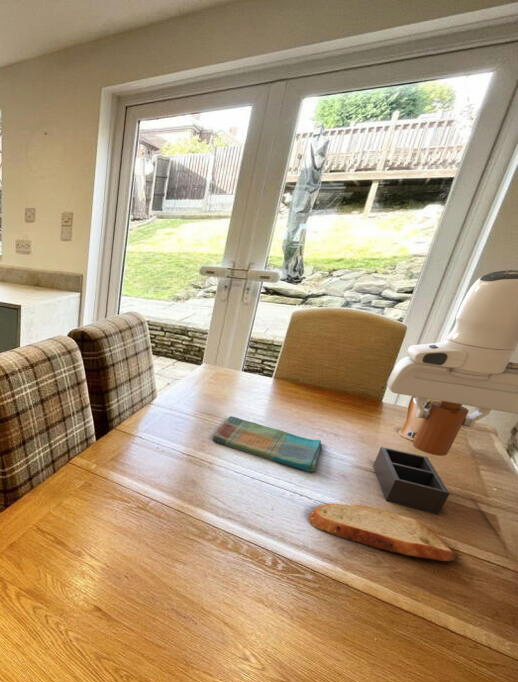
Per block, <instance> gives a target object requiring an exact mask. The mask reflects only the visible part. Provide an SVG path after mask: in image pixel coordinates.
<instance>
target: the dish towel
mask: <svg viewBox="0 0 518 682" xmlns="http://www.w3.org/2000/svg"><path fill="white" fill-rule="evenodd" d="M212 441H213V442H215V443H218V444H221V445H224V446H227V447H229V448H232V449H237V450H239V451H243V452H246V453H250V454H253V455H256V456H258V457H262V458H264V459H267V460H270V461H273V462H276V463H280V464H283V465H287V466H289V467H292V468H296V469H300V470H302V471H305V472H308V473H310V472H313V473H314V472H315V470H316V466H317V462H318V460H319V456H320V453H321V452H322V450H323V444H322V440H321V439H312V438H306V437H303V436H299V435H296V434H293V433H289V432H286V431H283V430H281V429H277V428H274V427H271V426H267V425H262V424H260V423H256V422H254V421H249V420H246V419H241V418H239V417H237V416H233V415H231V416H228V418H227V419H226V421H225V422H224V423H223V424H222V425H221V427H220V428H219V430H217V432H216V433H215V434H213V438H212Z"/></svg>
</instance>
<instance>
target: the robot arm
mask: <svg viewBox="0 0 518 682" xmlns="http://www.w3.org/2000/svg"><path fill="white" fill-rule="evenodd" d="M517 347H518V269H517V270H516V269H515V270H513V269H510V270H507V269H506V270H498V271H497V270H496V271H493V272H489V273H485V274H483V275H481V276H480V277H479V278H478V279H476V281H474V283H473V284H472V285H471V286H470V288H469V290H468V291H467V292H466V295H465V296H464V298H463V300H462V302H461V305H460V307H459V309H458V311H457V313H456V316H455V324H454V327H453V328H452V330H451V331H450V332H449V333H448V334H447V336H446V339H445V341H441V342H433V343H431V342H430V343H423V344H421V343H420V344H413V345H410V346H409V347H408V349H407V351H406V353H407V356H405V357H403V358H401V359H399V361H398V362H397V363H396V365H395V366H394V368H393V370H392V371H391V373H390V375H389V376H388V379H387V381H386V386H387V388H388V390H389V391H390V392H391V393H393V394H398V395H403V396H409V397H412V396H415V401H416V403H417V406H418V410H417V412H416V416H417V417H418V418H424V419H427V418H428V415H429V414H430V411H429V410H428V409H426V408H424V406H423V403H427V401H428V399H432V400H438V401H444V402H450V403H456V404H462V406H468V407H474V409H475V410H476V411H474V412H472V413H471V414H469V415H467V416H466V418H465V420H464V422H463V424H462V426H461V427H467V428H471V429H472V428H473V427H474V426H475V424H476V422H477V421H480V420H481V419H483V418H485V417H487V416H488V415H489V414H490V412H491V411H498V412H505V413H510V414H515V415H518V362H512V361H511V358H512V357H513V355H514V354H515V351H516V349H517Z"/></svg>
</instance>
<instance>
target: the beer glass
mask: <svg viewBox="0 0 518 682" xmlns="http://www.w3.org/2000/svg"><path fill="white" fill-rule="evenodd" d="M410 397H411V398H410V400H409V403H408V406H407V413H406V419H405V422H404V424H403V426H402V427H401V428H400V429H399V431H398V435H399V436H401V437H402V438H403V439H407V440H409V441H412V442H414V440H415V438H416V435H417V433H418V431H419V429H420V427H421V424H422V422H423V420H424V418H418V417H417V416H416V412H417V410H418V406H417V403H416V401H415V396H410ZM433 401H438V400H432V399H428V401H427V403H423V406H424V408H426V409H429V407H430V405H431V403H432V402H433Z"/></svg>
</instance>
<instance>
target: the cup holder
mask: <svg viewBox="0 0 518 682" xmlns="http://www.w3.org/2000/svg"><path fill="white" fill-rule="evenodd" d="M372 467H373V470H374V472H375V475H376V478H377V481H378V483H379V486H380V488H381V491H382V493H383V496H384V499H385V501H386V502H388V503H393V504H397V505H400V506H405V507H408V508H412V509H415V510H419V511H422V512H425V513H430V514H434V515H437V516H439V515H440V513H441V511H442V510H443V508H444V505H445V504H446V502H447V500H448V498H449V495H450V491H449V489H448V488H447V486H446V485H445V483H444V482H443V480H442V478H441V477H440V475H439V474H438V472H437V470H436V469H435V467H434V465H433V464H432V462H431V461H430V459H429V457H428V456H425V455H420V454H415V453H411V452H408V451H402V450H399V449H393V448H389V447H385V446H380V448H379V451H378V453H377V456H376V457H375V460H374V462H373V465H372Z"/></svg>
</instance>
